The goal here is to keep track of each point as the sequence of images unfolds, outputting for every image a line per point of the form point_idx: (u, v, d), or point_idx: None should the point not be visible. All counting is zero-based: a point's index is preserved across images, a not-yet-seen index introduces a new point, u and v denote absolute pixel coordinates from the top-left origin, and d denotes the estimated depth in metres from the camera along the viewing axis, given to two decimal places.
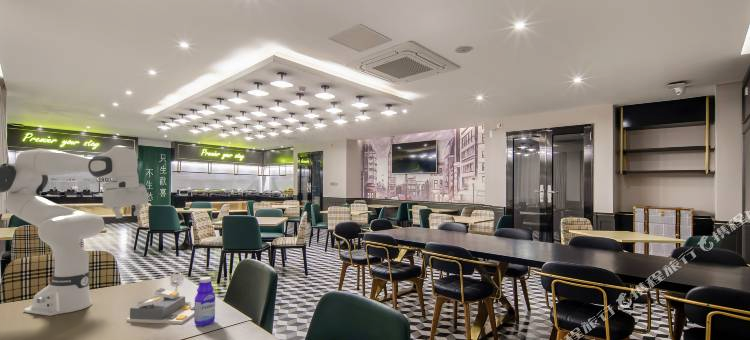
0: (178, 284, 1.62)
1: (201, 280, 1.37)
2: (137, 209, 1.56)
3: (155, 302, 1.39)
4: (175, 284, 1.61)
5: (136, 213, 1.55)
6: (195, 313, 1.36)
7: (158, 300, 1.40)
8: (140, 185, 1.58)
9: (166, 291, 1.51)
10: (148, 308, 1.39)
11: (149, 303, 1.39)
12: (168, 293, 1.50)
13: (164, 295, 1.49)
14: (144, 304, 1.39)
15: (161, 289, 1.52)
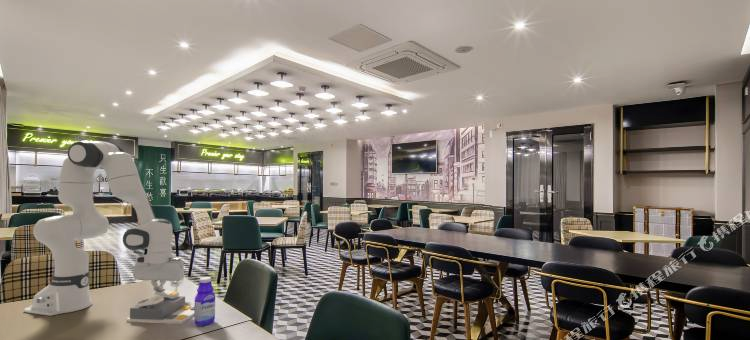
0: (178, 284, 1.62)
1: (201, 280, 1.37)
2: None
3: (155, 302, 1.39)
4: (175, 284, 1.61)
5: None
6: (195, 313, 1.36)
7: (158, 300, 1.40)
8: (175, 260, 1.51)
9: (166, 291, 1.51)
10: (148, 308, 1.39)
11: (149, 303, 1.39)
12: (168, 293, 1.50)
13: (164, 295, 1.49)
14: (144, 304, 1.39)
15: None
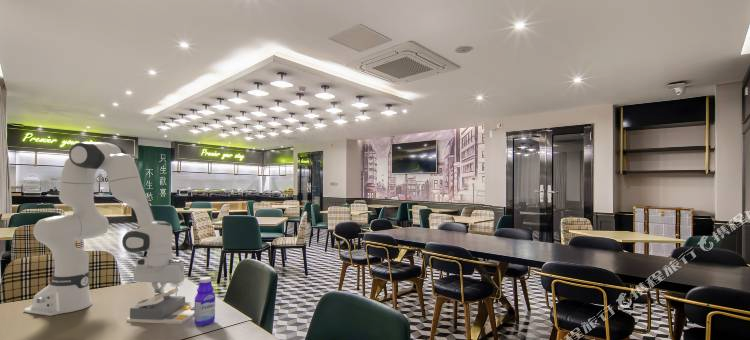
0: (178, 284, 1.62)
1: (201, 280, 1.37)
2: None
3: (155, 302, 1.39)
4: (175, 284, 1.61)
5: None
6: (195, 313, 1.36)
7: (158, 300, 1.40)
8: (176, 262, 1.51)
9: (165, 292, 1.52)
10: (148, 308, 1.39)
11: (149, 303, 1.39)
12: (167, 292, 1.50)
13: (163, 295, 1.49)
14: (144, 304, 1.39)
15: (159, 293, 1.52)
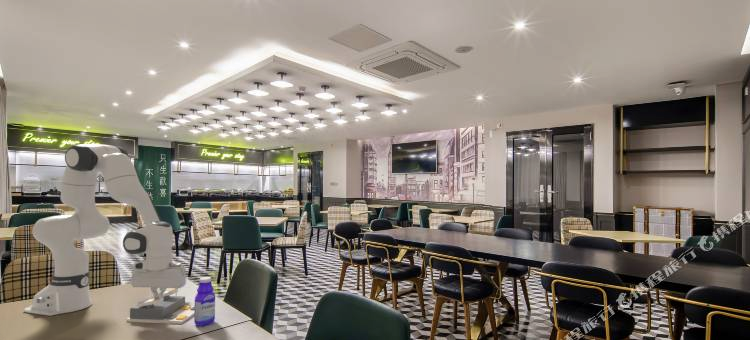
0: None
1: (201, 280, 1.37)
2: None
3: (155, 302, 1.39)
4: None
5: None
6: (195, 313, 1.36)
7: (158, 300, 1.40)
8: (176, 266, 1.40)
9: (165, 292, 1.52)
10: (148, 308, 1.39)
11: (149, 303, 1.39)
12: (167, 292, 1.50)
13: (163, 295, 1.49)
14: (144, 304, 1.39)
15: None
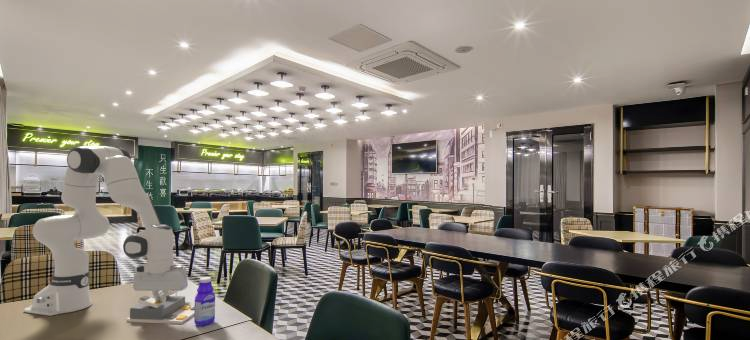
0: None
1: (201, 280, 1.37)
2: None
3: (155, 306, 1.39)
4: None
5: None
6: (195, 313, 1.36)
7: (159, 305, 1.40)
8: (178, 268, 1.40)
9: None
10: (148, 308, 1.39)
11: (150, 304, 1.39)
12: None
13: None
14: (145, 303, 1.39)
15: (159, 293, 1.52)
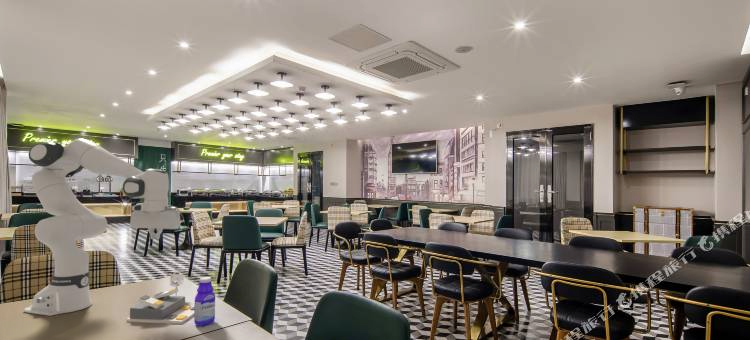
0: (178, 284, 1.62)
1: (201, 280, 1.37)
2: None
3: (155, 306, 1.39)
4: (175, 284, 1.61)
5: None
6: (195, 313, 1.36)
7: (159, 305, 1.40)
8: None
9: (165, 292, 1.52)
10: (148, 308, 1.39)
11: (150, 304, 1.39)
12: (167, 292, 1.50)
13: (163, 295, 1.49)
14: (145, 303, 1.39)
15: (159, 293, 1.52)
